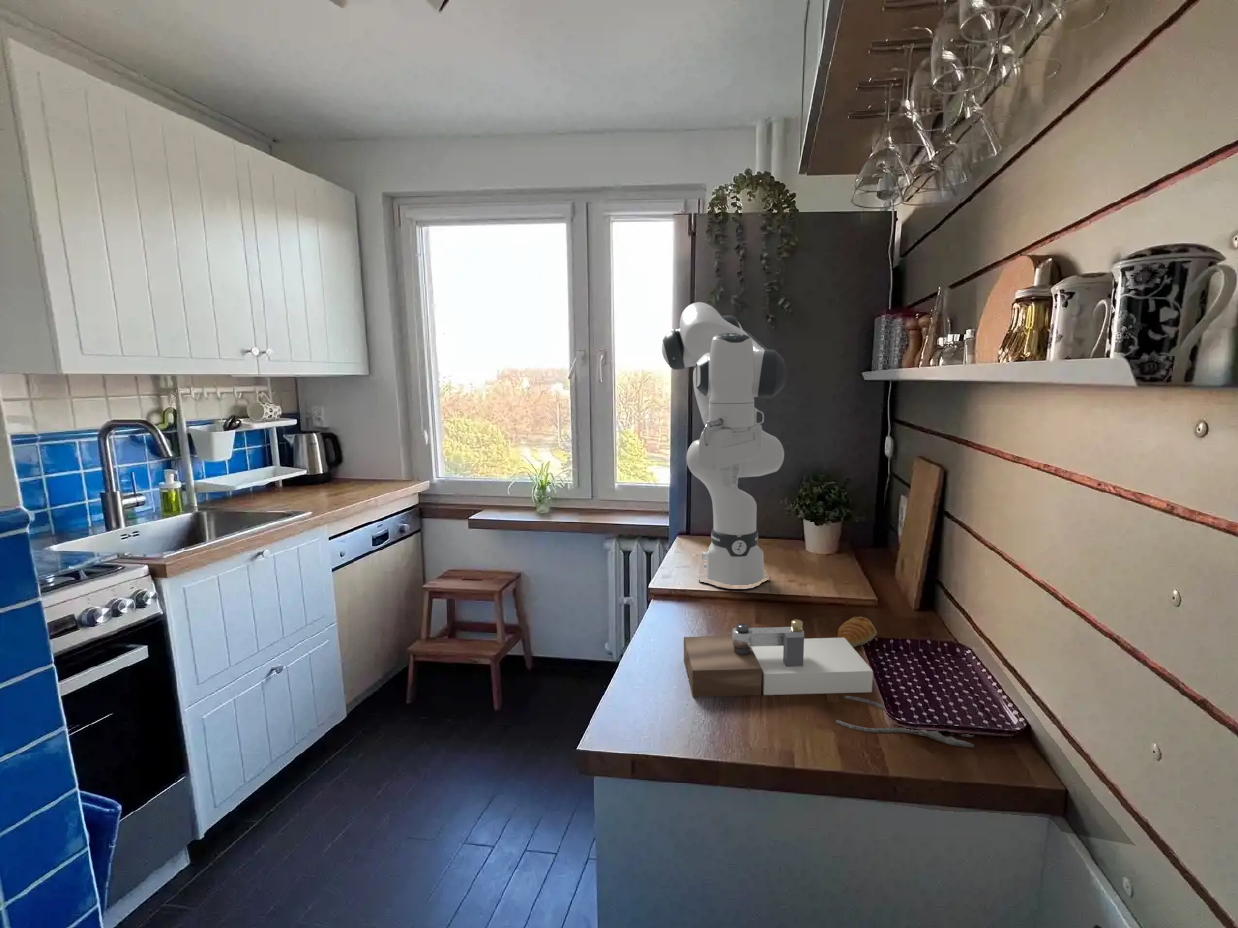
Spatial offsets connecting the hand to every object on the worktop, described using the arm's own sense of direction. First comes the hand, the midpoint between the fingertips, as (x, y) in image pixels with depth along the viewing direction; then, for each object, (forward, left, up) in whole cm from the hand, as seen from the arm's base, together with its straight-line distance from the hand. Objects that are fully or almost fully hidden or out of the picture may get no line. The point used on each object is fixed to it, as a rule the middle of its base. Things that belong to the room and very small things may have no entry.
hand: (730, 485), depth 122 cm
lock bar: (+15, +4, -27) cm, 31 cm away
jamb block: (+15, -5, -33) cm, 37 cm away
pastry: (+1, +27, -34) cm, 43 cm away
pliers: (+30, +22, -34) cm, 50 cm away
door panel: (+15, +11, -33) cm, 38 cm away
